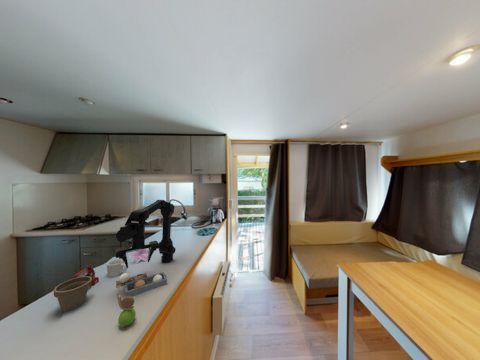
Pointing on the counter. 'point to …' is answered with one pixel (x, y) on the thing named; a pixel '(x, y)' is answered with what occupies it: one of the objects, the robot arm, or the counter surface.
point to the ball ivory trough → (157, 278)
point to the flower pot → (72, 292)
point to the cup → (115, 267)
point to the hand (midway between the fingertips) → (138, 264)
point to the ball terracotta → (139, 284)
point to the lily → (140, 255)
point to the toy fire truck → (90, 273)
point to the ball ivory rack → (124, 278)
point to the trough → (146, 287)
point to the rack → (131, 280)
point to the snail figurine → (126, 310)
